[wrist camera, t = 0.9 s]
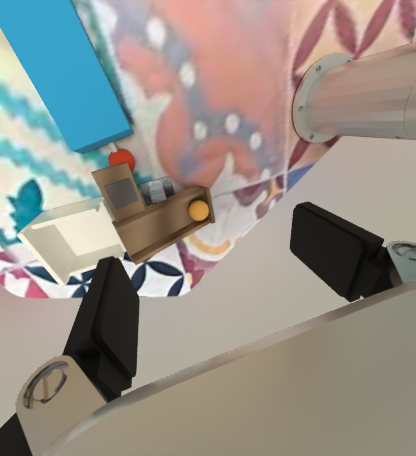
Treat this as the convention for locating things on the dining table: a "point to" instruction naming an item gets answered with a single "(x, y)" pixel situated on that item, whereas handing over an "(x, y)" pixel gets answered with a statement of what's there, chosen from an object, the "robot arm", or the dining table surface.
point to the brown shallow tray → (148, 213)
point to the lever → (67, 74)
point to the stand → (157, 190)
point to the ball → (198, 210)
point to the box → (73, 238)
